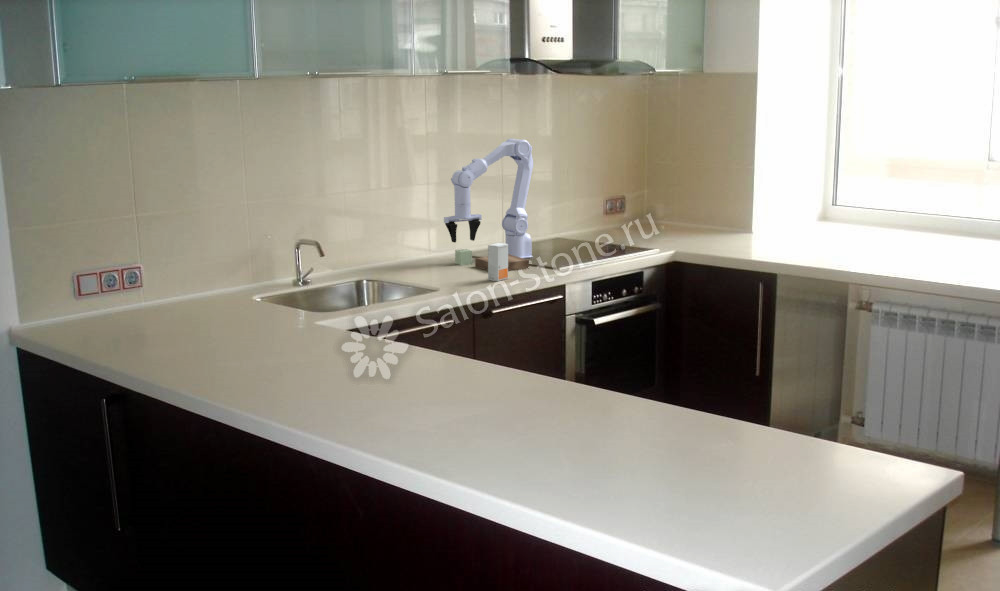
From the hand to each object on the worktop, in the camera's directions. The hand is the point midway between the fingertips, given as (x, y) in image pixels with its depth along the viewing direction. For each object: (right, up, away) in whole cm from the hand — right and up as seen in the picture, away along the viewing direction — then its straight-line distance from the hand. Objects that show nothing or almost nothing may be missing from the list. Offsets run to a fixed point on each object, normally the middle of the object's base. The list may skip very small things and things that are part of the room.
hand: (463, 241), depth 362 cm
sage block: (0, -8, +2) cm, 8 cm away
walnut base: (+14, -10, -6) cm, 18 cm away
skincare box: (+13, -15, -27) cm, 33 cm away
